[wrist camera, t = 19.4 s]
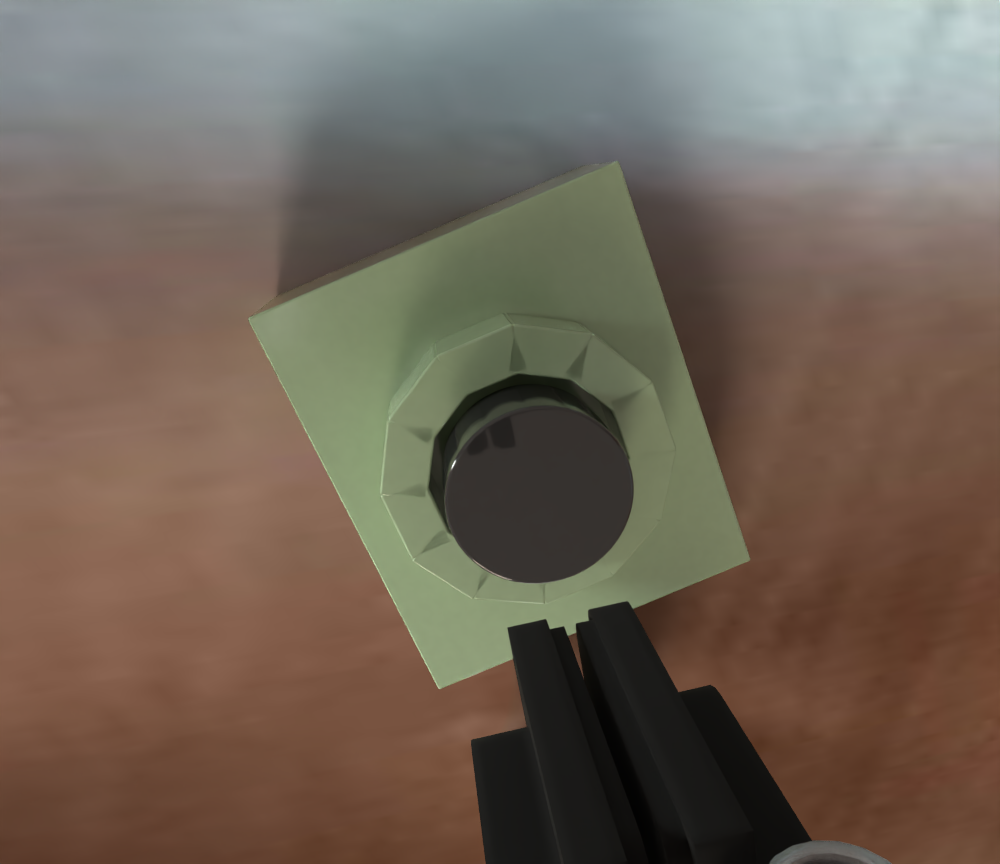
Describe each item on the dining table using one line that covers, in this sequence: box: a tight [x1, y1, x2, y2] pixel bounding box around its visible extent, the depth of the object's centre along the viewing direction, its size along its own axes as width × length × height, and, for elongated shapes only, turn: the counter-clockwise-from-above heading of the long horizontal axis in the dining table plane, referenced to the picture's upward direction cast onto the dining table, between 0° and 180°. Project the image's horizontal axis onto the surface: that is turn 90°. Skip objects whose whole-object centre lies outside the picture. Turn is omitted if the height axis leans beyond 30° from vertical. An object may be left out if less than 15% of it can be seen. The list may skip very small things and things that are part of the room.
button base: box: [248, 161, 750, 689], centre depth 22 cm, size 12×10×6 cm
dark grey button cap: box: [441, 384, 634, 584], centre depth 19 cm, size 4×4×2 cm
